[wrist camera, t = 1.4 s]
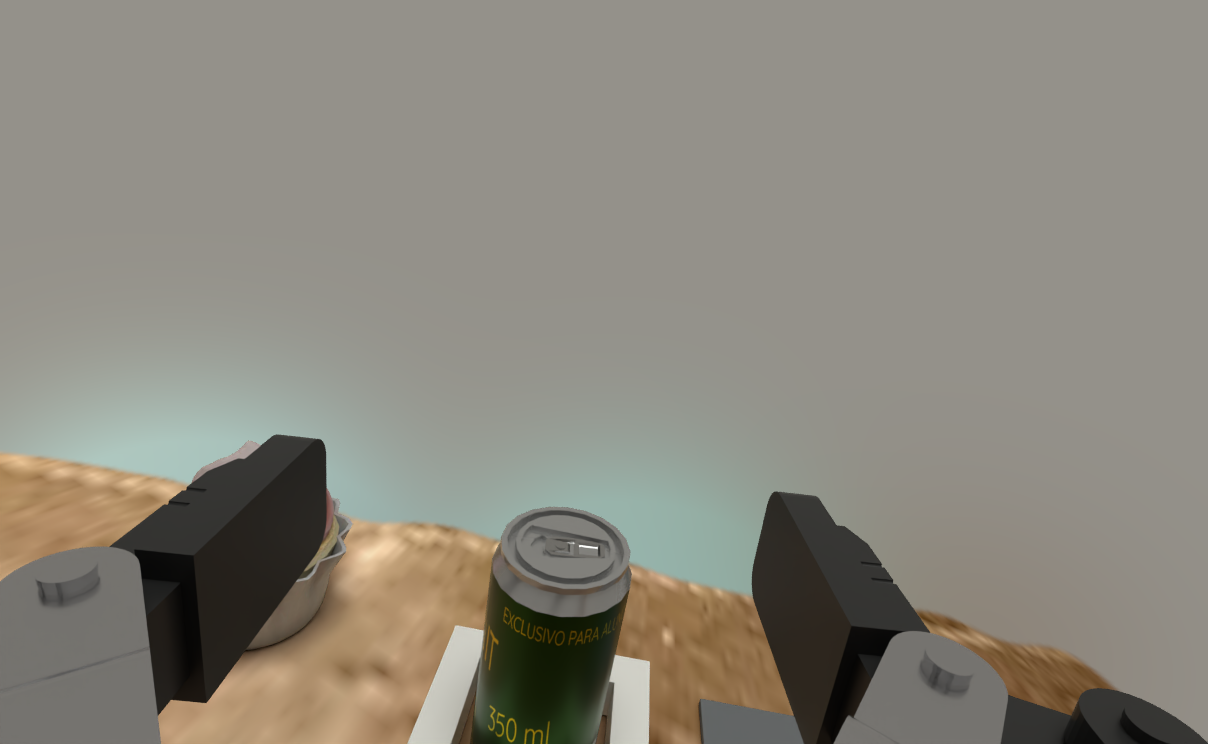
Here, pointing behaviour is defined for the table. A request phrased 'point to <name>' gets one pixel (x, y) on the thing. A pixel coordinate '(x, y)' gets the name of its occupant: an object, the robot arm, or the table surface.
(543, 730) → the beer can
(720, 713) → the mat
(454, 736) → the collar
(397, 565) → the table surface
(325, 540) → the cupcake
